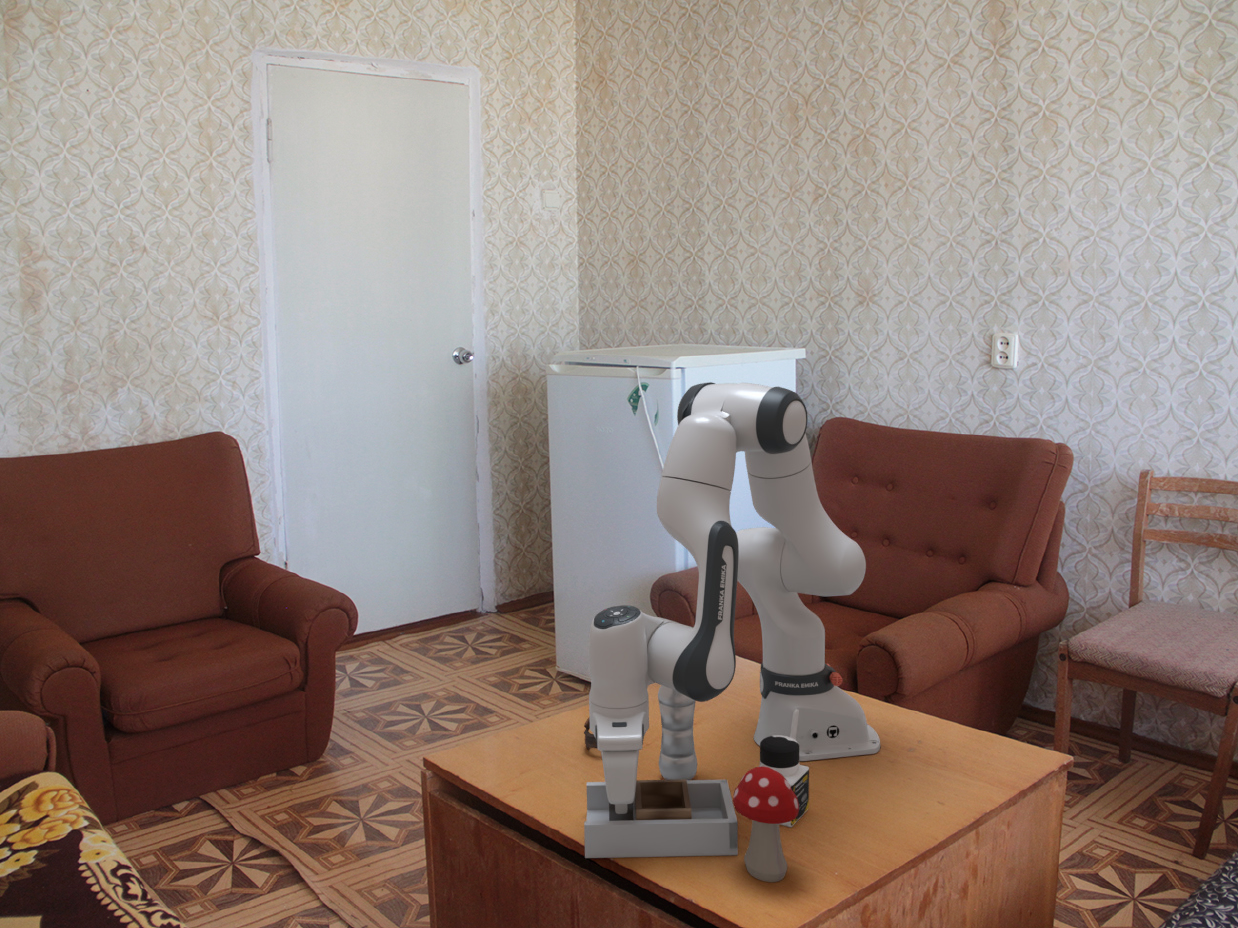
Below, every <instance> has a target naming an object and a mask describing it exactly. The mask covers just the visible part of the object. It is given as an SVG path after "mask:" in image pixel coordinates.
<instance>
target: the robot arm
mask: <svg viewBox="0 0 1238 928" xmlns="http://www.w3.org/2000/svg"><path fill="white" fill-rule="evenodd" d="M676 416H677V417H676V419H677V428H676V430H675V432H674V433H673V434H674V435H673V437H672V439H671V442H670V445H669V448H668V451H667V454H666V457H665V460H664V464H663V468H662V472H661V477H660V481H659V486H658V490H657V496H656V515H657V517H658V518H659V521H660V523H661V525H662V527H663V528H664V529H665V531H666V532H667V533H668V534H669V535H670V536H671V537H672V539H674V540H675V541H677V542H678V543H679V544H681V545H682V547H684V549H686V550H687V551H688V552H689V553H690V555H691V556H692V557H693V559H694V561H695V564H696V565H697V566H696V567H697V570H698V587H697V597H696V598H697V599H696V600H697V601H696V610H695V611H696V612H695V624H694V626H693V627H692V626H690V625H686V624H682V623H680V622H677V621H675V620H670V619H667V618H663V617H660V616H659V617H658V616H652V615H650V614H647V613H644V612H642V610H641V609H640V608H639V607H637V606H633V605H624V604H622V605H615V606H610V607H607V608H605V609H602V610H601V611H599V612H597V614H596V615H595V616H594V617H593V619H592V621H591V624H590V628H589V633H588V641H587V642H588V645H587V667H588V668H587V670H588V674H589V677H590V681H591V682H590V683H591V684H590V689H589V694H588V706H589V709H588V711H589V715H588V716H589V717H590V729H589V731H590V732H591V733H592V734H594V736H595V738H596V742H597V746H598V748H597V750H598V751H600V754H601V760H602V765H603V766H602V768H603V774H604V775H603V776H604V782H605V784H606V791H607V797H608V800H609V803H610V804H615V812H616V813H617V814H625V813H627V804H631V803H633V801H634V797H635V791H636V780H638V768H639V766H638V764H639V756H640V755H639V753H640V750H643V745H644V738H645V736H646V733H647V732H648V729H649V728H650V714H649V713H650V707H649V705H650V703H649V691H648V688H649V686H650V685H652V684H657V685H660V686H661V685H662V686H665V687H668V688H671V689H674V690H676V691H678V692H679V693H681V694H683V695H685V696H687V697H689V698H691V699H693V700H695V702H699V703H705V702H709V701H710V700H712V699H714V698H717V697H718V696H720V695H721V694H722V693H724V691H726V690H727V688H729V686H730V685H731V683H732V681H733V679H734V677H735V674H736V667H737V660H736V659H737V657H736V648H735V647H736V646H735V621H736V620H735V619H736V604H737V593H738V592H737V591H738V590H737V589H738V583H739V584H740V585H741V586H742V587H743V588H744V590H745V591H746V593H747V594H748V595H749V596H750V598H751V600H752V602H753V604H754V607H755V608H756V611H757V614H758V617H759V621H760V627H761V628H760V629H761V636H762V641H761V642H762V662H761V664H760V671H759V692H760V695H761V699H760V700H761V701H760V709H759V714H758V720H757V725H756V728H755V732H754V734H753V740H754V742H755V743H756V744H757V745H758V746H759V747H760V742H761V741H762V740H763V739H764V738H766V737H769V736H774V735H783V736H787V737H790V738H793V739H795V740H796V741H797V742H798V743H799V762H808V761H816V760H826V759H834V758H844V757H845V758H846V757H853V756H863V755H865V756H866V755H872V754H877V753H878V752H879V751H880V749H881V741H880V740H881V739H880V736H879V735H878V732H877V731H876V730H875V729H874V728H873V727H872V726H871V725H870V724H868V722H867V721H868V720H867V716H866V714H865V711H864V709H863V708H862V706H861V704H860V703H859V702H858V701H857V700H856V699H855V698H854V697H853V696H851V695H850V694H849V693H847V692H846V691H844V690H843V689H841V688H840V687H839V686H841V685H842V684H843V681H844V680H843V677H842V676H841V674H840V673H839V672H837V671H836V670H835V668H833V667H832V666H831V665H830V664H829V663H828V662H827V663H825V660H826V659H825V658H826V657H825V654H826V652H825V651H826V650H825V649H826V648H825V647H826V641H825V640H826V632H825V631H826V629H825V626H824V624H823V622H822V620H821V618H820V617H819V616H818V615H817V614H816V613H815V612H813V611H812V610H810V609H809V608H808V607H807V606H805V604H804V603H803V602H802V600H801V598H800V597H799V594H805V595H813V596H818V597H819V596H820V597H838V596H850V595H852V594H853V593H854V592H856V591H857V590H858V589H859V587H860V586H861V584H862V583H863V581H864V578H865V574H866V571H867V570H866V569H867V561H866V557H865V554H864V552H863V549H862V548H861V546H860V545H859V544H858V543H857V541H855V540H853V538H852V539H851V538H850V537H849V536H848V535H846V534H845V533H844V532H842V530H841V529H839V528H838V526H837V525H836V524H835V523H834V522H833V521H832V519H831V517H830V516H829V515H828V513H827V512H826V511H825V509H824V506H823V505H822V503H821V500H820V497H819V493H818V490H817V485H816V480H815V475H814V470H813V463H812V456H811V450H810V446H809V441H808V436H807V435H806V432H807V428H808V421H809V420H808V417H809V416H808V410H807V407H806V404H805V403H804V400H803V399H802V398H801V397H800V396H799V394H798V393H797V392H795V391H794V390H791V389H788V388H784V387H782V386H773V387H772V386H768V385H764V384H757V383H749V382H740V383H735V382H732V383H731V382H730V383H729V382H727V383H726V382H725V383H715V382H711V381H710V382H703V383H698V384H694V385H692V386H690V387H689V388H688V389H687V390H686V392H685V393H683V396H681V399H680V401H679V404H678V406H677V413H676ZM738 452H744V459H745V464H746V465H745V466H746V472H747V479H748V483H749V490H750V494H751V495H750V496H751V501H752V506H753V509H754V510H755V512H756V513H757V514H758V515H759V517H761V519H763V520H764V521H766V522H767V523H769V524H771V526H773V527H768V526H767V527H766V526H762V527H761V526H760V527H758V526H757V527H750V528H744V529H743V528H742V529H740V530H738V531H736V530H735V529H734V527H733V526H732V521H731V514H730V503H731V494H732V489H733V485H734V484H733V482H734V477H735V470H736V458H737V457H736V456H737V453H738Z"/></svg>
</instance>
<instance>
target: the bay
mask: <svg viewBox="0 0 1238 928" xmlns="http://www.w3.org/2000/svg"><path fill="white" fill-rule="evenodd" d="M687 786H688V792H689V798H690V804H691V811H692V819H679V820H636V813H635V797H634V801H633V820H628V821H609V800H608V797H607V791H606V784H605V781H587V782H586V821H584V826H583V827H584V828H583V829H584V832H583V833H584V834H583V835H584V858H585V859H604V858H605V859H607V858H609V859H611V858H650V857H651V858H655V857H656V858H657V857H659V858H661V857H701V856H703V857H706V856H707V857H708V856H710V857H711V856H712V857H714V856H739V855H738V854H739V852H738V851H739V848H738V845H739V844H738V842H739V841H738V840H739V839H738V835H739V834H738V833H739V831H738V830H739V829H738V826H739V825H738V824H739V823H738V819H737V815H736V811H735V810H736V809H735V807H734V805H733V797H732V794H731V791H730V787H729V782H728V780H727V779H691V780H687Z"/></svg>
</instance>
